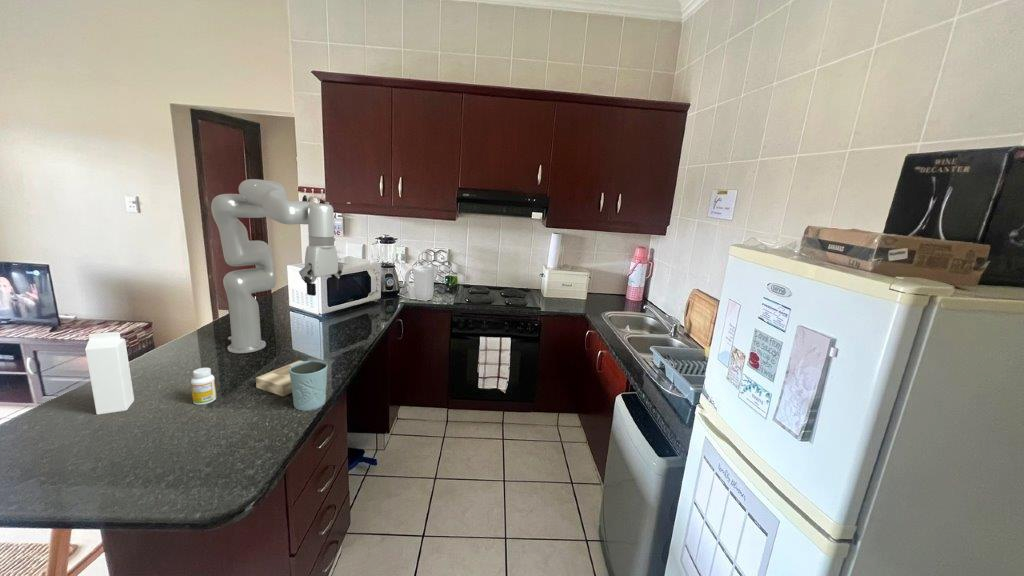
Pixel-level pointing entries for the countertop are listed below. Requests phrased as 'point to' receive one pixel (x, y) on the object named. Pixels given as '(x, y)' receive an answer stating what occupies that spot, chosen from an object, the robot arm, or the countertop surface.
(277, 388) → the socket block
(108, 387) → the milk
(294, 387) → the embossed blue-green cup
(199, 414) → the countertop surface
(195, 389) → the supplement bottle
